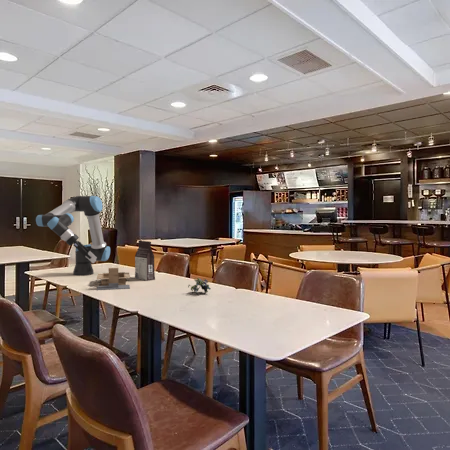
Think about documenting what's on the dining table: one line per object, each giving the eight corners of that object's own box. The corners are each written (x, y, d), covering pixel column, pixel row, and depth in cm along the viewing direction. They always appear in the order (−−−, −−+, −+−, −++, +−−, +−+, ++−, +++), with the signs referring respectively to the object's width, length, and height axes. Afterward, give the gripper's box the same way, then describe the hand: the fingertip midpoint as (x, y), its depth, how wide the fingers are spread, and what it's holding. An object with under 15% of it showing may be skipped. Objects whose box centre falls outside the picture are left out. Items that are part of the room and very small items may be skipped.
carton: (98, 280, 268) (98, 273, 268) (128, 278, 274) (128, 272, 274) (96, 286, 243) (96, 279, 243) (130, 285, 250) (130, 277, 249)
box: (108, 286, 243) (108, 268, 242) (118, 285, 244) (118, 267, 244) (108, 288, 237) (108, 269, 236) (118, 287, 239) (118, 268, 238)
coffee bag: (156, 279, 272) (156, 241, 271) (146, 281, 266) (146, 242, 265) (143, 276, 284) (143, 240, 283) (133, 278, 277) (133, 240, 276)
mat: (97, 286, 243) (97, 286, 243) (129, 285, 249) (129, 284, 249) (97, 290, 232) (97, 289, 232) (130, 288, 238) (130, 287, 238)
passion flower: (205, 301, 227) (215, 286, 223) (192, 301, 219) (202, 285, 215) (196, 288, 234) (206, 274, 230) (183, 287, 226) (193, 273, 222)
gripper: (67, 240, 244) (91, 262, 249) (62, 243, 220) (89, 267, 225) (76, 232, 245) (100, 254, 250) (72, 234, 222) (99, 258, 226)
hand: (95, 260), depth 238 cm, fingers open, 13 cm apart
